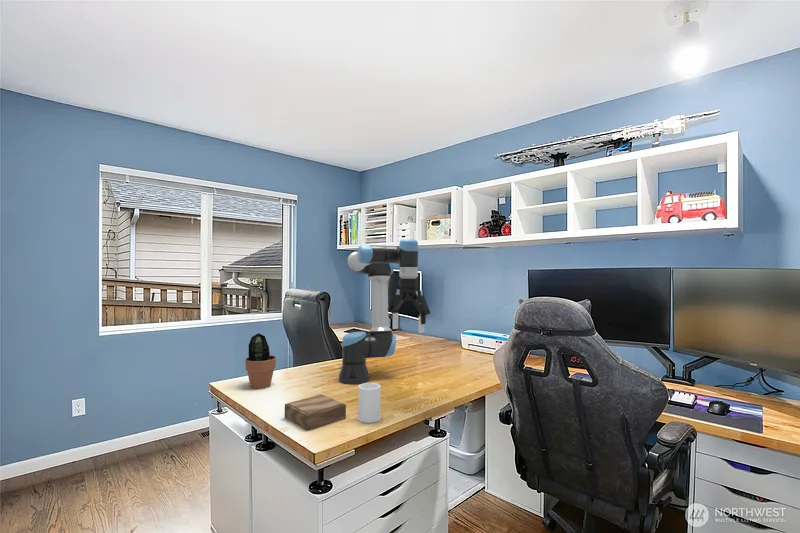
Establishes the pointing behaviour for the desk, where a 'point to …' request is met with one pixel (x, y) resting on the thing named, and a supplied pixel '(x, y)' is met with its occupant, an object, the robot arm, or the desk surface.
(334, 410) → the tray
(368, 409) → the mug
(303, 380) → the desk surface
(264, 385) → the potted plant
